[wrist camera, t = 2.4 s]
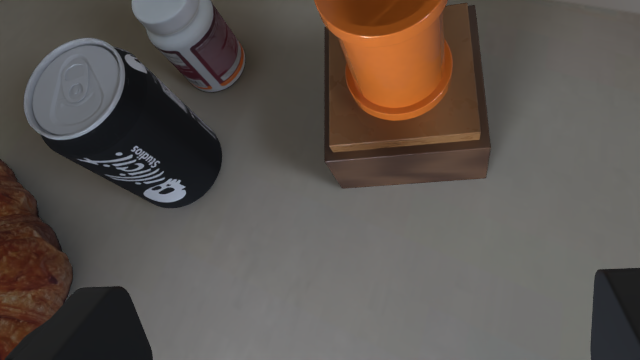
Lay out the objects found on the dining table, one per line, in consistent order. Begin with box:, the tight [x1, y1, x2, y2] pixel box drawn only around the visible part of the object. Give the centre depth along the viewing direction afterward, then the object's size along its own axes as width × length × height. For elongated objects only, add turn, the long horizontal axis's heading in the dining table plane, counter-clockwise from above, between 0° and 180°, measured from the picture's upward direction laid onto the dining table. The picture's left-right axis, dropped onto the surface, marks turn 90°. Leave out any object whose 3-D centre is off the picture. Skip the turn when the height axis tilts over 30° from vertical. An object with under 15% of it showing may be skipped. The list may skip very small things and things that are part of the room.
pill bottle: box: [132, 0, 245, 92], centre depth 36 cm, size 5×5×8 cm
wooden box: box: [325, 3, 491, 188], centre depth 32 cm, size 9×9×6 cm
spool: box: [314, 0, 453, 121], centre depth 26 cm, size 6×6×8 cm
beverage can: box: [24, 38, 222, 208], centre depth 32 cm, size 7×7×12 cm
